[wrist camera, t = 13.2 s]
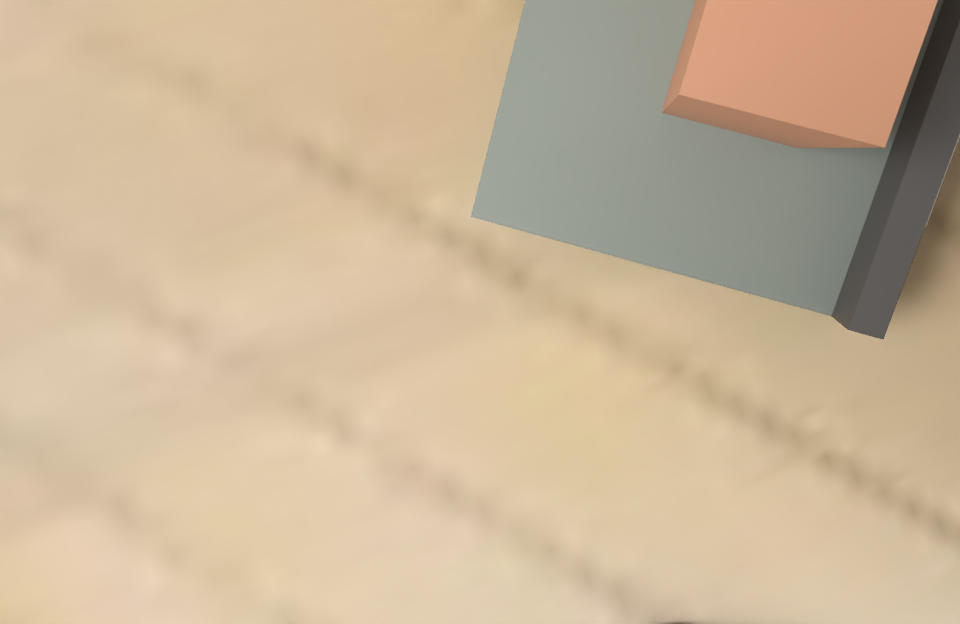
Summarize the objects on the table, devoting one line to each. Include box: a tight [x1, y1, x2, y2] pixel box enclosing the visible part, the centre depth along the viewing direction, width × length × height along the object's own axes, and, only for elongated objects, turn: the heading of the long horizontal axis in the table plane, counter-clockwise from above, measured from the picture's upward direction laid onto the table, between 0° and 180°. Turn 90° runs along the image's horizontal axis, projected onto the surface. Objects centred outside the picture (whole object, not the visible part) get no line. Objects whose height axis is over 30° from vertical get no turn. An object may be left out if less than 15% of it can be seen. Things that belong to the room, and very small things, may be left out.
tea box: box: [662, 0, 938, 148], centre depth 26 cm, size 5×6×11 cm
